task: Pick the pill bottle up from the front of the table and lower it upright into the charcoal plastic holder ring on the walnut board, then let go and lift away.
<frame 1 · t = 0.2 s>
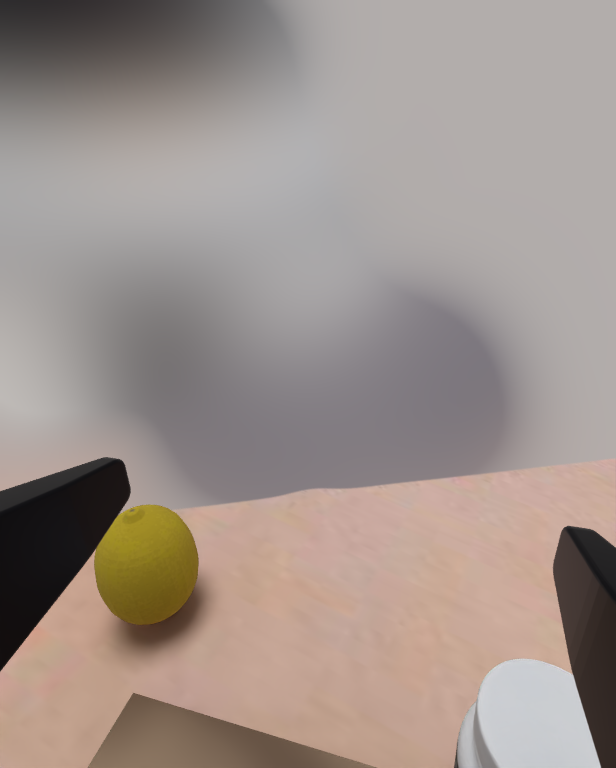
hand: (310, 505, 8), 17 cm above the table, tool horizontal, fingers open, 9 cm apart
lemon: (164, 613, 25), on the table
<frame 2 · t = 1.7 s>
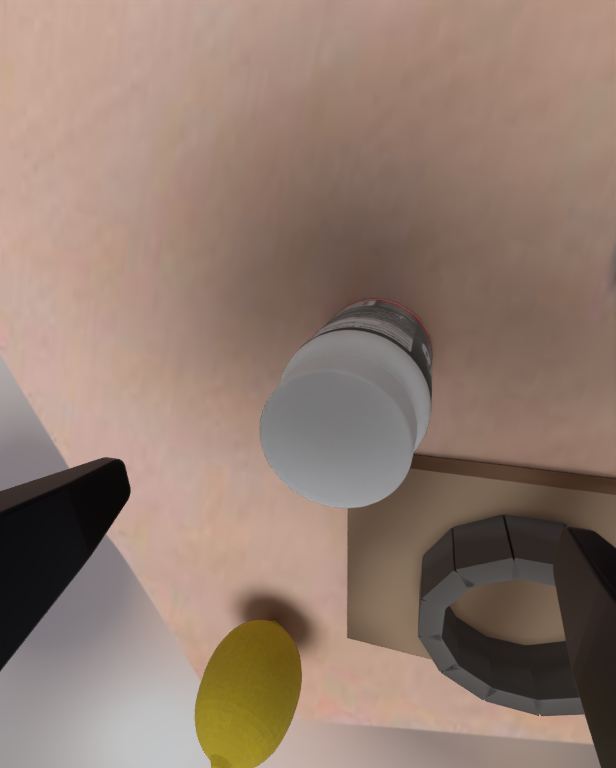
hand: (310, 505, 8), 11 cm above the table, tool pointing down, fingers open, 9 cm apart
lemon: (277, 619, 26), on the table
socket board: (512, 572, 19), on the table
pill bottle: (376, 349, 18), on the table
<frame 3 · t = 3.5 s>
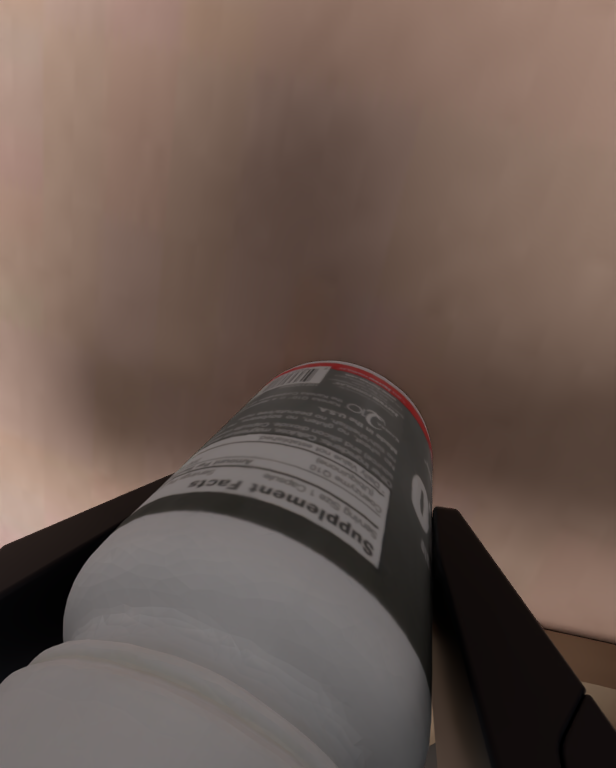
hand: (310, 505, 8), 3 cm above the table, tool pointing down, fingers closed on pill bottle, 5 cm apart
pill bottle: (338, 438, 10), on the table, touching gripper
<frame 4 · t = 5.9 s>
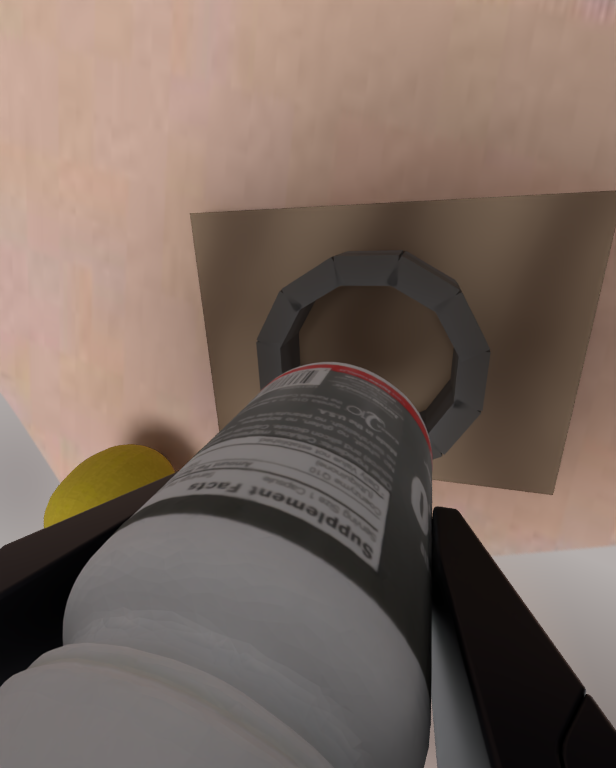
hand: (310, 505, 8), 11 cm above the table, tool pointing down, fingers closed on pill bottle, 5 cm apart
lemon: (164, 459, 25), on the table
socket board: (375, 347, 18), on the table
pill bottle: (338, 439, 10), point 9 cm above the table, touching gripper
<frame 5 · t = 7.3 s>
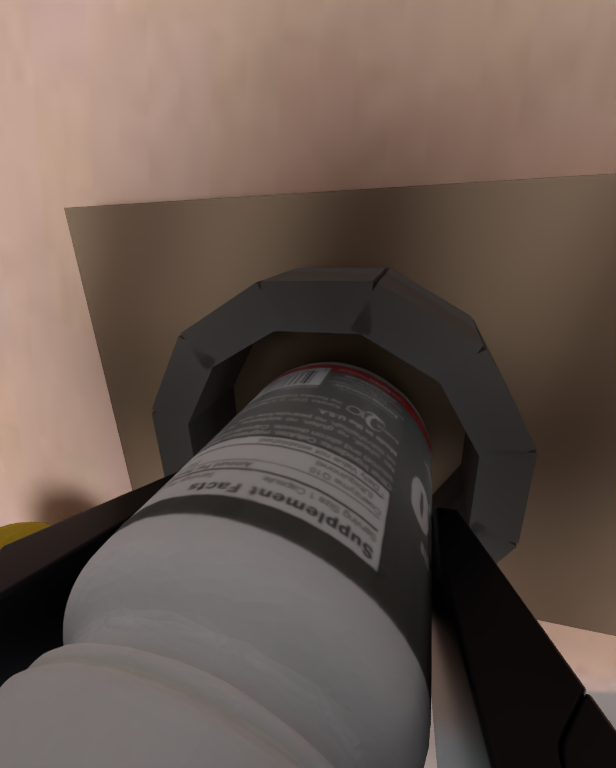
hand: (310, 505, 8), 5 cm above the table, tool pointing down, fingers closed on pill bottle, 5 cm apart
lemon: (82, 531, 19), on the table
socket board: (349, 405, 12), on the table
pill bottle: (338, 439, 10), point 2 cm above the table, touching gripper
when the fingers open (5 cm above the table, at t = 8.4 s): pill bottle stays where it is, resting on socket board.
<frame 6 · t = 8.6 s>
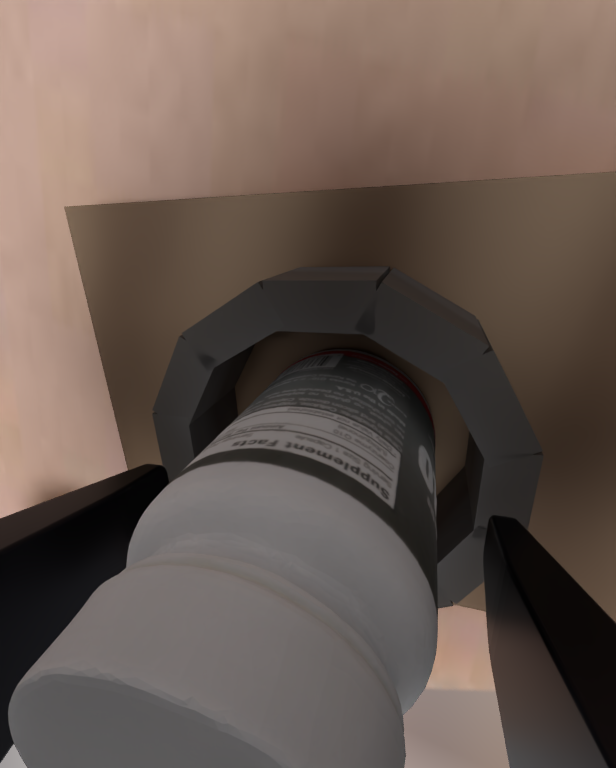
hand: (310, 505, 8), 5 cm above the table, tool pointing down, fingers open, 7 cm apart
socket board: (351, 406, 12), on the table
pill bottle: (348, 422, 11), point 1 cm above the table, touching socket board
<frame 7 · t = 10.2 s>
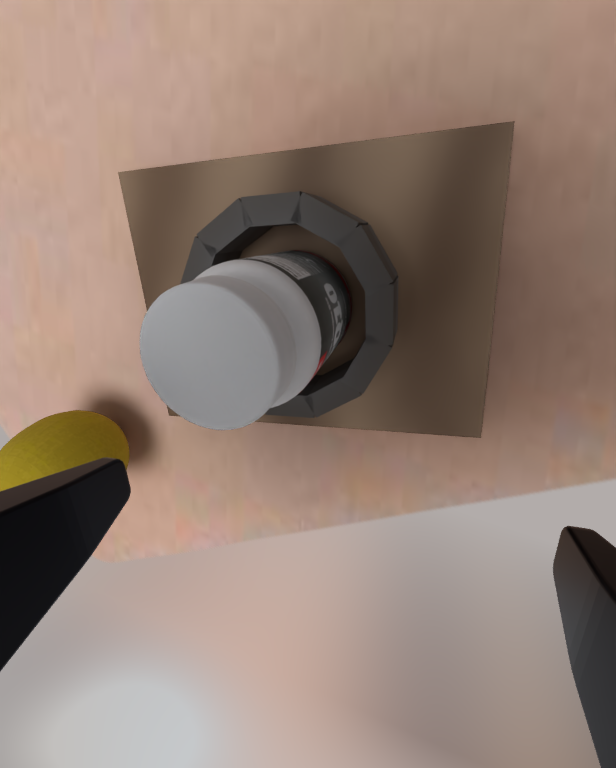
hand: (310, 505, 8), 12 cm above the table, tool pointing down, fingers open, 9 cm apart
lemon: (120, 429, 25), on the table
socket board: (306, 300, 19), on the table
pill bottle: (302, 304, 18), point 1 cm above the table, touching socket board
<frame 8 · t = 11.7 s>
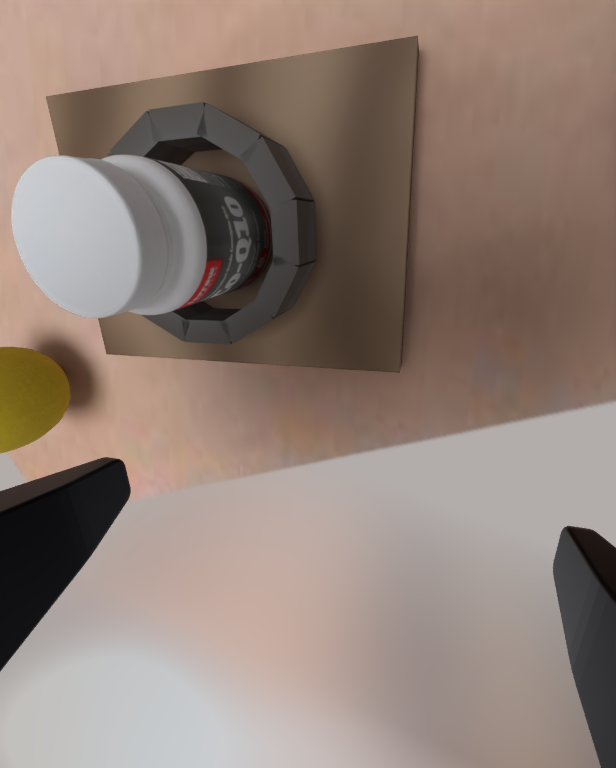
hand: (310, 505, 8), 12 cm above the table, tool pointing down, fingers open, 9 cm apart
lemon: (66, 373, 25), on the table
socket board: (235, 234, 19), on the table
pill bottle: (227, 235, 18), point 1 cm above the table, touching socket board
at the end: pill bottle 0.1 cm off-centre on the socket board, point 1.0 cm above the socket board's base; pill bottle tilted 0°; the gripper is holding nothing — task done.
